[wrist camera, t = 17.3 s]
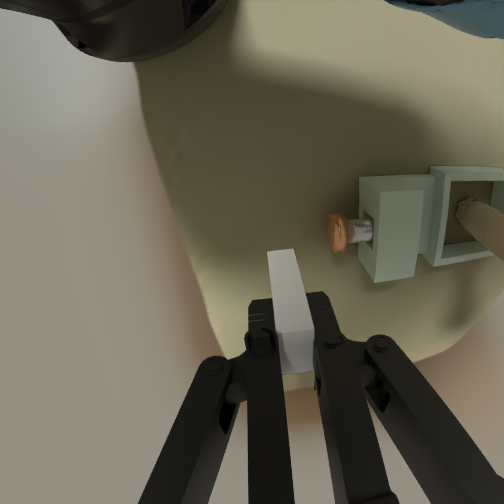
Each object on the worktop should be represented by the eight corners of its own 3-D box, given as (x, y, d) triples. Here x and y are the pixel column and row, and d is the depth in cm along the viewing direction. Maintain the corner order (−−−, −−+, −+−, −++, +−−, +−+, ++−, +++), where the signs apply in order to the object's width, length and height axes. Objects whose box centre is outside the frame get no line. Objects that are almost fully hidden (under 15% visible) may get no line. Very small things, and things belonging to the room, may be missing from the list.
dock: (358, 168, 24) (380, 181, 20) (498, 167, 23) (526, 179, 19) (357, 264, 29) (373, 290, 24) (487, 244, 28) (510, 263, 24)
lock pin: (326, 208, 25) (336, 222, 22) (398, 202, 25) (414, 215, 22) (327, 242, 27) (336, 259, 24) (396, 234, 26) (410, 249, 23)
